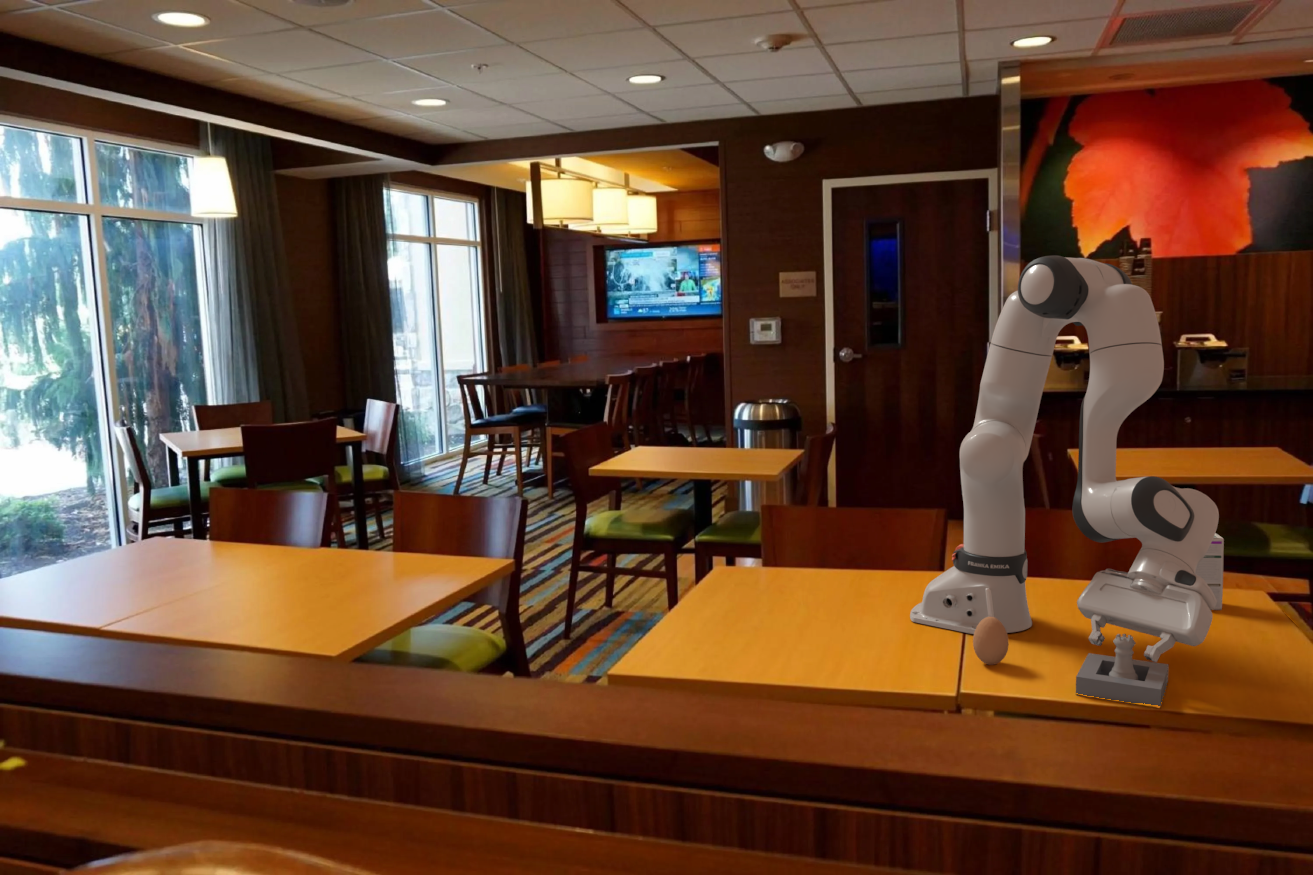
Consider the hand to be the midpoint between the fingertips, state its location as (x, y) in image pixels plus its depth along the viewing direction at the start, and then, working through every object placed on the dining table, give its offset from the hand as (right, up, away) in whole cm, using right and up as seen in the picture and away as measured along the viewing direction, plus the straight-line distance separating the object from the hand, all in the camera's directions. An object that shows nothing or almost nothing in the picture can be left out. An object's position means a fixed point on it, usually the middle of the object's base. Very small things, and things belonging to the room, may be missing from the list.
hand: (1121, 650), depth 164 cm
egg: (-16, -5, +14) cm, 22 cm away
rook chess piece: (+1, -6, +1) cm, 6 cm away
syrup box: (+35, 0, +42) cm, 55 cm away
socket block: (+1, -6, +1) cm, 6 cm away
